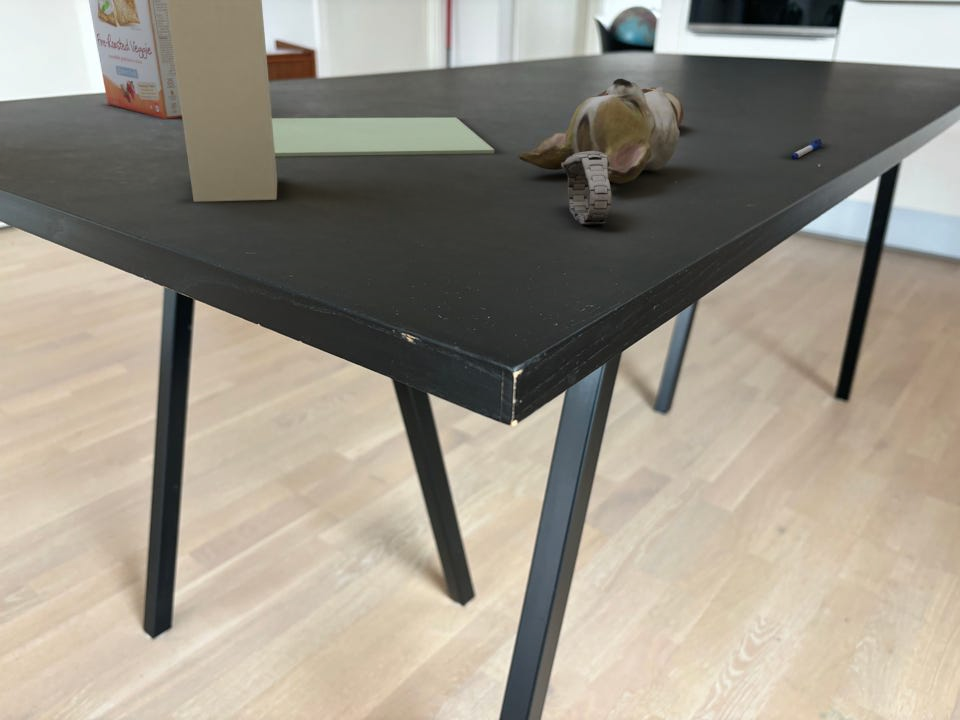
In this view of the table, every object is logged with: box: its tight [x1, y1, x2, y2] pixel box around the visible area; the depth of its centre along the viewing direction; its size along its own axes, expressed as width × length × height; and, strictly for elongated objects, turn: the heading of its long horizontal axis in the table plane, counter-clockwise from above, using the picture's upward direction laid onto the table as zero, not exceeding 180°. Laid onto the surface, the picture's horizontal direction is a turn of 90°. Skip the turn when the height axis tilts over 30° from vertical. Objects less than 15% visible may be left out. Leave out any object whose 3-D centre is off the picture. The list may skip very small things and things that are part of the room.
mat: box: [272, 117, 495, 157], centre depth 83 cm, size 28×20×1 cm
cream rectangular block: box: [166, 0, 278, 202], centre depth 57 cm, size 6×6×18 cm
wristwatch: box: [562, 151, 612, 226], centre depth 55 cm, size 4×6×5 cm, turn 8°
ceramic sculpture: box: [517, 78, 681, 184], centre depth 67 cm, size 11×9×15 cm
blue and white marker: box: [791, 138, 823, 160], centre depth 83 cm, size 10×1×1 cm, turn 146°
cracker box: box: [88, 0, 182, 120], centre depth 90 cm, size 14×6×21 cm, turn 49°
